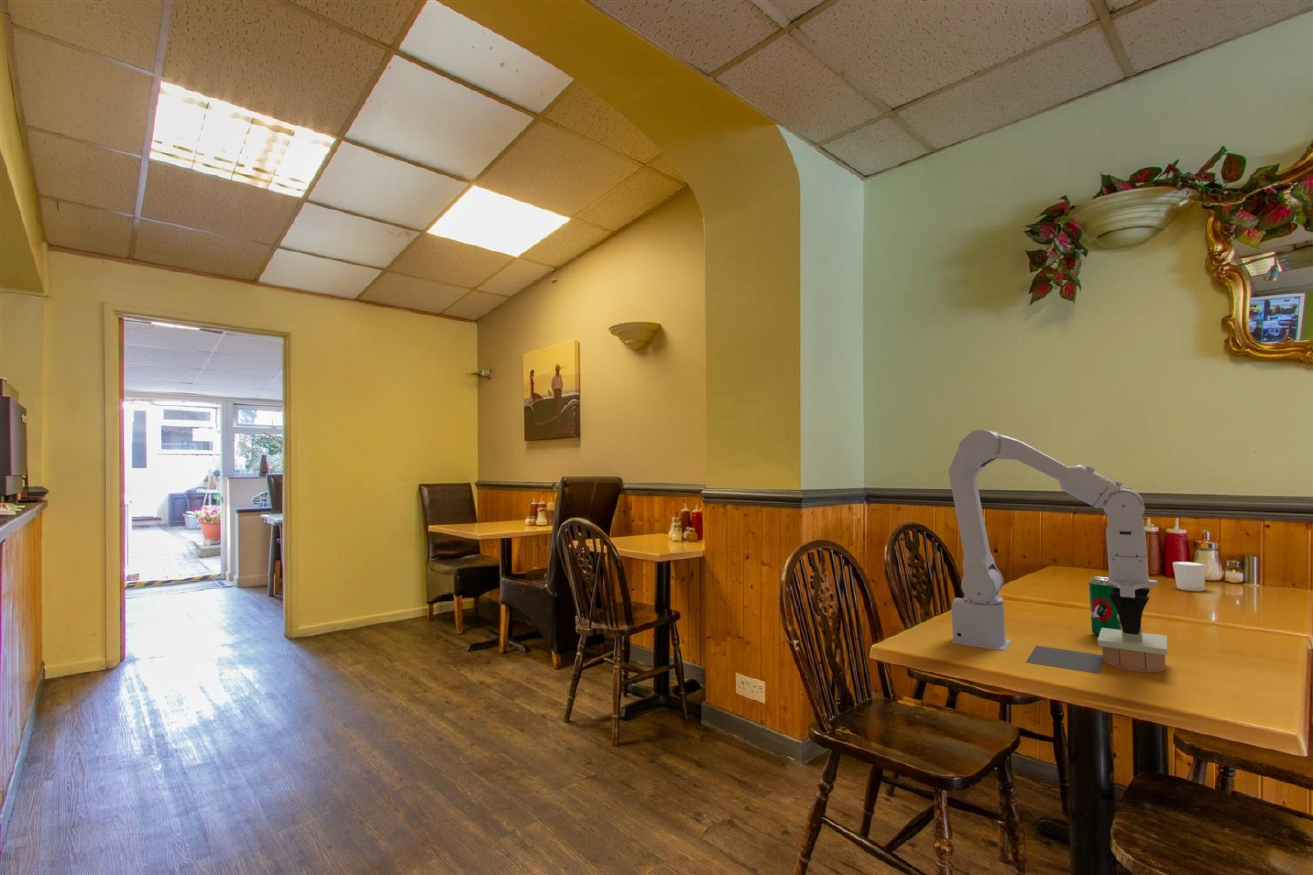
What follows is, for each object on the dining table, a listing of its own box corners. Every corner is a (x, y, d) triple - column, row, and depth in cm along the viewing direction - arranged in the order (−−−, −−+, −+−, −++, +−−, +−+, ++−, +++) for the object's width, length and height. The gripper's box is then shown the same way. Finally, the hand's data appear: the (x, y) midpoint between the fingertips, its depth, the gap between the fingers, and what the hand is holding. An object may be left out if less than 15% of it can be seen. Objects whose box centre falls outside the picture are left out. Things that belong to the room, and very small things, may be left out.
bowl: (1102, 667, 109) (1100, 645, 109) (1105, 654, 116) (1104, 633, 116) (1165, 677, 103) (1164, 654, 103) (1165, 663, 110) (1164, 641, 110)
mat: (1026, 664, 112) (1025, 661, 112) (1036, 647, 121) (1036, 645, 121) (1099, 676, 105) (1099, 673, 105) (1104, 657, 114) (1104, 655, 114)
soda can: (1126, 640, 124) (1122, 580, 125) (1098, 639, 125) (1094, 580, 126) (1114, 633, 129) (1110, 576, 129) (1087, 632, 130) (1083, 576, 131)
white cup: (1185, 591, 163) (1183, 565, 163) (1168, 586, 170) (1166, 561, 170) (1214, 591, 162) (1212, 565, 162) (1195, 586, 169) (1194, 561, 169)
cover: (1097, 645, 109) (1096, 617, 109) (1101, 632, 116) (1100, 606, 117) (1167, 655, 103) (1165, 625, 103) (1167, 641, 110) (1165, 613, 110)
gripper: (1155, 562, 102) (1160, 643, 102) (1155, 550, 113) (1160, 623, 113) (1103, 559, 107) (1108, 636, 106) (1108, 548, 118) (1113, 618, 117)
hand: (1131, 629), depth 110 cm, fingers open, 5 cm apart
